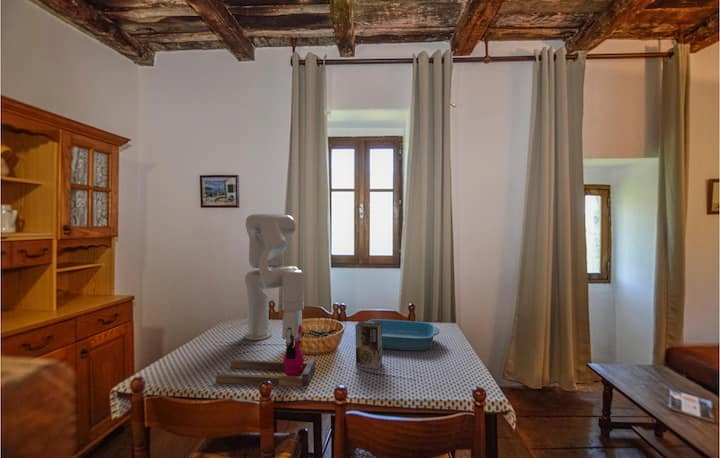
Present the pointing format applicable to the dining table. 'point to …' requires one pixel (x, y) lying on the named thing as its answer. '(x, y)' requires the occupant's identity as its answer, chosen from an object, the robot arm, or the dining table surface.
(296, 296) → the robot arm
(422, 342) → the casserole dish
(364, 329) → the coffee box
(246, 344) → the dining table surface
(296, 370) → the pepper mill
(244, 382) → the guide channel
